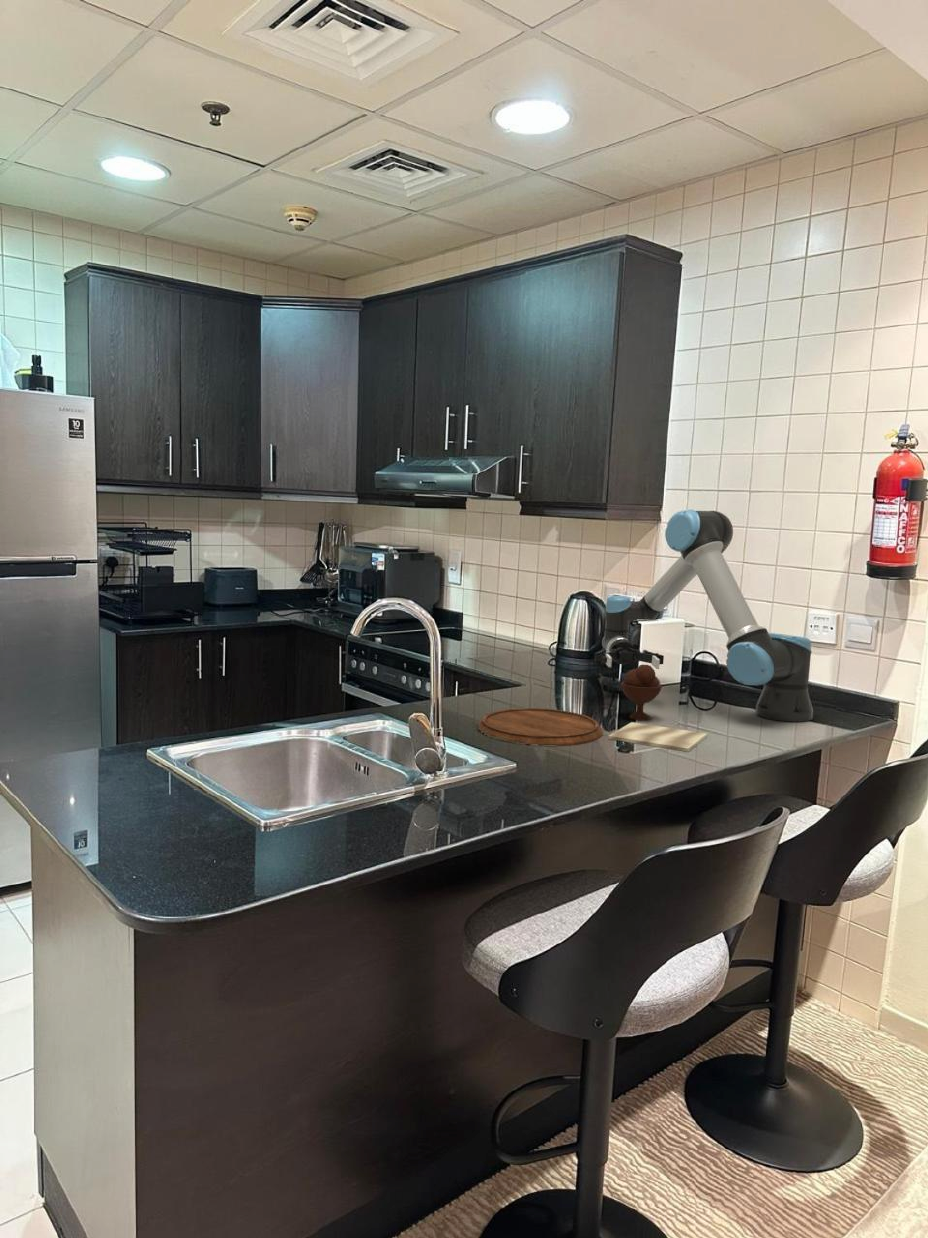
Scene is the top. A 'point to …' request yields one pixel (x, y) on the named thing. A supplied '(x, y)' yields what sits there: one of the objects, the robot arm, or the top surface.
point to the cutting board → (541, 726)
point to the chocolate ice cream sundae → (641, 688)
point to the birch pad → (658, 736)
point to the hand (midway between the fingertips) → (634, 663)
